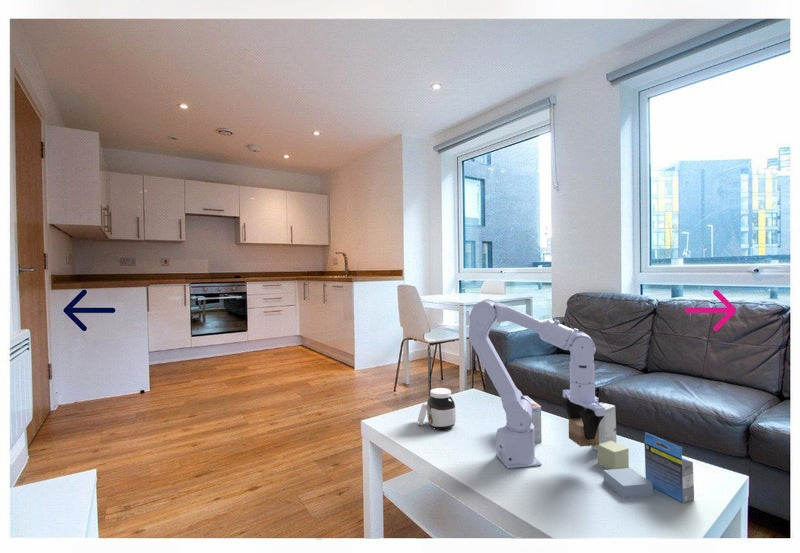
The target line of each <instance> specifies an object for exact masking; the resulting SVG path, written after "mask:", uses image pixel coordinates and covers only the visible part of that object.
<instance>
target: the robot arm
mask: <svg viewBox="0 0 800 553" xmlns="http://www.w3.org/2000/svg"><path fill="white" fill-rule="evenodd" d="M468 321H469V322H468V323H469V325H468V326H469V327H468V339H469V342H470V343H471V346H472V347H473V349H474V351H475V353H476V355H477V356H478V358H479V360H480V362H481V364H482V365H483V367H484V369H485V371H486V374H487V375H488V376H489V378H490V381H491V382H492V384H493V386H494V387H495V389H496V391H497V393H498V396H499V397H500V400H501V403H502V408H503V410H504V413H505V416H506V417H505V419H506V423H505V424H506V425H505V426H503V427H499V428H497V430H496V453H495V455H496V456H497V458H498V459H499V460H500V461H501V463H502V464H503V465H504V466H505V467H506V468H507V469H514V468H515V469H516V468H526V467H534V466H535V467H536V466H541V465H542V462H541V461H540V459H538V458H537V457H536V454H535V453H536V449H535V447H536V446H535V444H536V443H535V441H534V425H533V424H532V418H531V417H532V413H533V407H532V404H531V403H530V401H529V400H527V399H526V398H525V397H524V396H525V395H523V393H522V391H521V390H520V389H518V388H517V386H516V383H515V382H514V381H513V379H512V377H511V375H510V373H509V372H508V370H507V368H506V366H505V364H504V362H503V361H502V359H501V357H500V355H499V354H498V352H497V350H496V348H495V346H494V344H493V342H492V341H491V339H490V337H489V334H490V331H491V328H492V325H493V323H495V321H496V323H505V322H511V323H513V324H516V325H518V326H521V327H522V328H526V329H527V330H531V331H532V332H535V333H537V334H538V336H539V338H540V340H541V341H543V342H545V343H548V344H550V345H552V346H555V347H556V348H559V349H562V350H564V351H569V352H570V360H569V389H563V390H562V398H564V399H567V400H564V401H562V406H563V408H564V409H565V411H566V413H567V416H568V420H569V419H574V418H582V421H583V426H584V434H585V438H586V439H587V440H591V439H595V436H596V432H597V429H598V426H599V424H600V422H601V420H602V419H603V417H604V416H605V407H603V406H602V405H601V404H600V403H601V402H599V397H597V396H596V381H595V379H596V378H595V377H596V376H595V363H594V360H595V357H594V355H595V353H596V350H597V347H596V345H595V342H594V340H593V339H592V338H591V336H590V335H588V334H587V333H585V331H579V329H578V328H575V327H574V329H573V328H570V327H568V326H566V325H564V324H562V323H561V322H560V320H558V319H554V320H552V319H547V320H544V321H542V320H540V319H538V318H535V317H534V316H531V315H529V314H527V313H525V312H523V311H522V310H519V309H517V308H515V307H512V306H510V305H507V304H504V303H502V302H500V301H499V302H495V300H493V299H490V298H489V299H483V300H481V301H479V302H477V303H476V304H474V305H473V307H472V308H471V310H470V313H469V315H468ZM585 409H586V410H585Z"/></svg>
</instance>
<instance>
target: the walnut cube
mask: <svg viewBox="0 0 800 553" xmlns="http://www.w3.org/2000/svg"><path fill="white" fill-rule="evenodd" d="M568 439H569V440H571V441H572V442H574V443H575V444H576V445H578V447H591V446H592V445H599V426H598V429H597V432H596V436H595V439H591V440H587V439H586V438H585V434H584V426H583V421H582V418H574V419H569V418H568Z"/></svg>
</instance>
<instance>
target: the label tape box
mask: <svg viewBox="0 0 800 553" xmlns="http://www.w3.org/2000/svg"><path fill="white" fill-rule="evenodd" d="M657 443H658V444H660V445H662V444H663V445H664V446H665V447H667V448H665V447H663V446H660V445H658V444H657ZM643 445H644V465H645V466H644V467H645V468H644V469H645V470H644V471H645V472H644V473H645V479H647V480H648V481H650V482H651V483H653V489H656V490H658V492H659V491H660V492H661V493H664V494H666V495H667V496H670V497H671V498H673V499H675V500H677V501H678V502H681V503H683V504H685V503H689V502H691V501H693V500H695V487H694V486H695V485H694V484H695V483H694V481H695V480H694V462H693V461H691V460H689V459H686V458H684V457H683V447H682V446H679V445H677V444H675V443H672V442H670V441H669V440H668V441H667V440H665V439H662V438H660V437H658V436H656V435H654V434H651V433H650V432H649V433H648V432H646V431H645V432H644V443H643Z"/></svg>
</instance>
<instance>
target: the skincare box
mask: <svg viewBox="0 0 800 553" xmlns="http://www.w3.org/2000/svg"><path fill="white" fill-rule="evenodd" d="M599 403H600V404H601V405H602V406H603V407H605V416H604V417H603V419H602V420H601V422H600V424H599V444H601V443H604V442H608V441H613V442H615V443H617V418H616V417H617V416H616V405H614V404H609V403H605V402H599ZM590 447H591V449H593V450H595V451H597V452H598V445H592V446H590Z"/></svg>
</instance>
